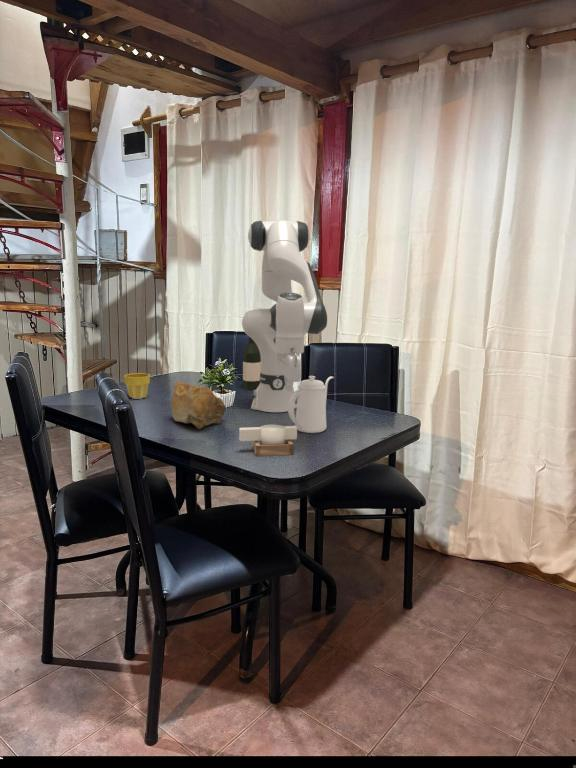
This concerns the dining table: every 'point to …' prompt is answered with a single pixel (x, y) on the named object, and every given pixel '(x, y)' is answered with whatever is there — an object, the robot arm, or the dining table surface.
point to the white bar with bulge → (268, 434)
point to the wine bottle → (251, 366)
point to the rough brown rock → (196, 405)
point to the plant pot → (137, 384)
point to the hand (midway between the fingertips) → (288, 390)
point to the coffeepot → (309, 405)
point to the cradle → (273, 449)
